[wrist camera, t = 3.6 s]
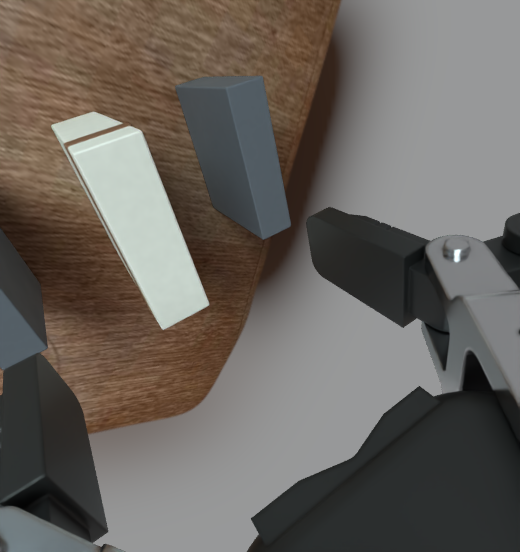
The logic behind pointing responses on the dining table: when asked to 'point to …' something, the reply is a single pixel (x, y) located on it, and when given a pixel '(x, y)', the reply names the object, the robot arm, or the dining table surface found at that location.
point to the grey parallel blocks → (219, 179)
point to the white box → (134, 212)
